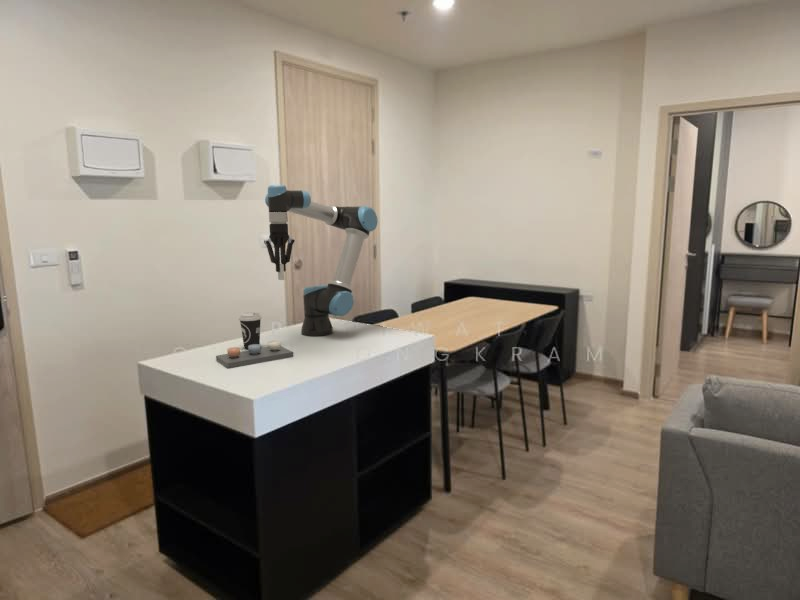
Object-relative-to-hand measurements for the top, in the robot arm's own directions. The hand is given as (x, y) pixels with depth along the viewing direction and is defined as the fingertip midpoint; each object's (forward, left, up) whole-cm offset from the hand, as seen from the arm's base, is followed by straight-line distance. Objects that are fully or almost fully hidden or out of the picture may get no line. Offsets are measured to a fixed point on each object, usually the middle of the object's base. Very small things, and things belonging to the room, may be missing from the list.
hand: (281, 279), depth 229 cm
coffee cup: (+10, -12, -31) cm, 34 cm away
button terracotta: (+24, +6, -29) cm, 38 cm away
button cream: (+7, +6, -29) cm, 31 cm away
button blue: (+16, +6, -29) cm, 34 cm away
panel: (+16, +6, -30) cm, 35 cm away
